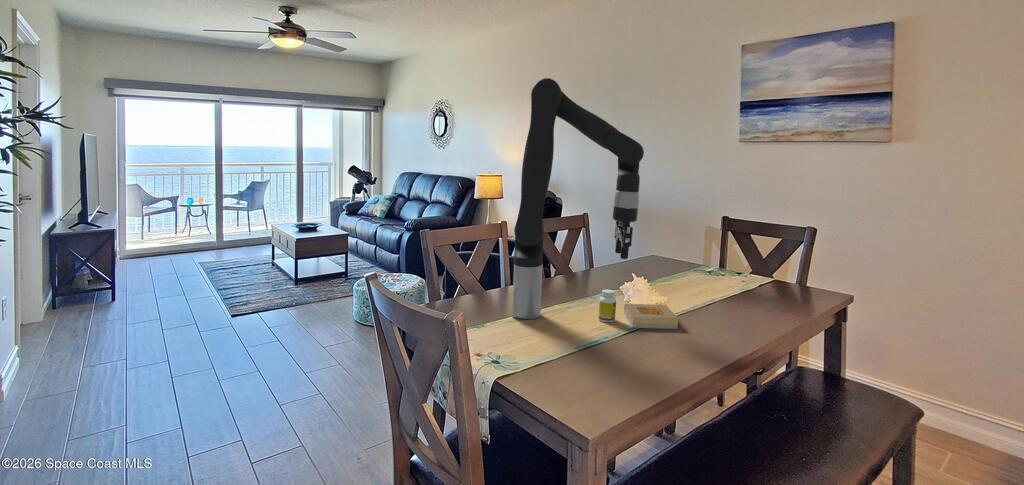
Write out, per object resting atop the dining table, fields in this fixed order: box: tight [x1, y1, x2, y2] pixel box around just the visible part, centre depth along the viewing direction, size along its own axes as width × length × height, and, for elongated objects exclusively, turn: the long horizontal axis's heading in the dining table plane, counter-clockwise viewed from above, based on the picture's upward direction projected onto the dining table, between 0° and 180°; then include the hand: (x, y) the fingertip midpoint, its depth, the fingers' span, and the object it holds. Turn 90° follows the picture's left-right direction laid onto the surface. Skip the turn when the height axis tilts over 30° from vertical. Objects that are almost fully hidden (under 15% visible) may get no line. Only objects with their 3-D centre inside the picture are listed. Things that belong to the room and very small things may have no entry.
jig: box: [623, 303, 679, 330], centre depth 177 cm, size 14×14×4 cm
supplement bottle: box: [597, 289, 617, 323], centre depth 176 cm, size 5×5×10 cm
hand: (621, 255), depth 174 cm, fingers open, 8 cm apart
